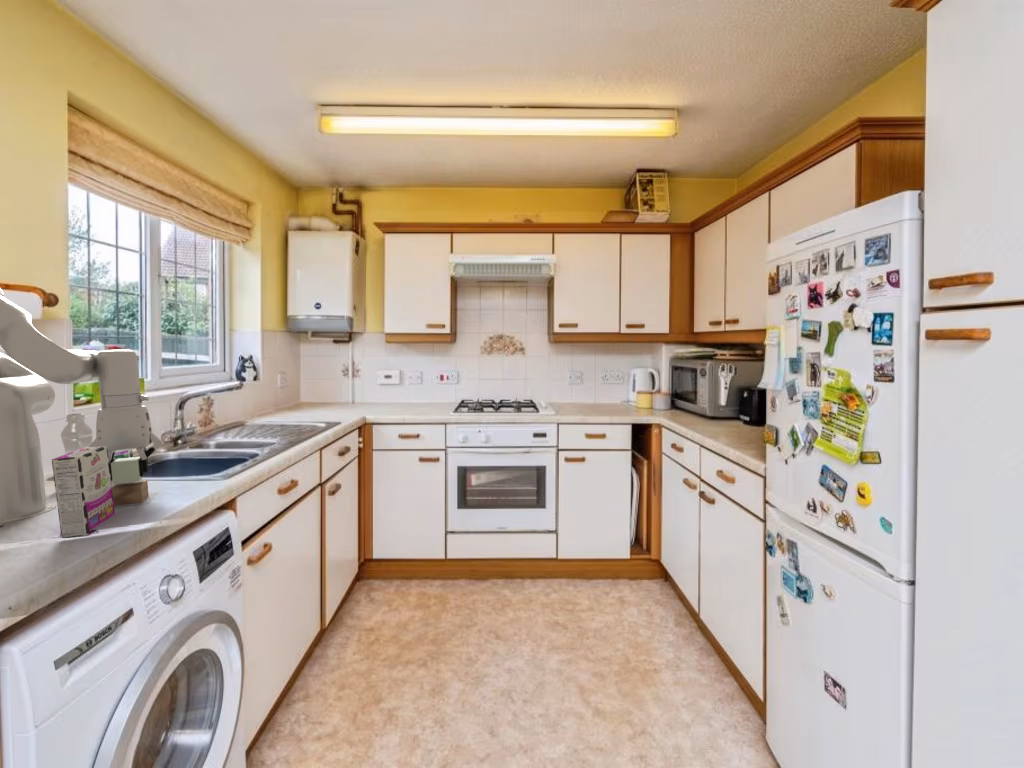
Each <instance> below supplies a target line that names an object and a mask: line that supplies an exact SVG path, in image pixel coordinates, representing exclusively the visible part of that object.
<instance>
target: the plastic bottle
mask: <svg viewBox="0 0 1024 768" xmlns="http://www.w3.org/2000/svg"><path fill="white" fill-rule="evenodd" d="M65 416H66V425H65V427H63V429H62V431H61V434H60V437H61V441H62V443H63V447H64V453H65V454H68V453H70V452H73V451H75V450H78V449H81V448H85V447H89V446H90V445H91V444H92V443H93V435H94V433H93V430H92V428H91V427H90V426H89V425H88V424H87V423H85V421H86V418H85V417H86V416H85V413H84V412H83V413H81V412H80V413H79V412H78V413H70V414H66V415H65Z"/></svg>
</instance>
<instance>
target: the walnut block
mask: <svg viewBox="0 0 1024 768" xmlns="http://www.w3.org/2000/svg"><path fill="white" fill-rule="evenodd" d="M148 483H149V482H148V479H141V480H140V481H136V482H128V483H120V484H115V485H114V486H113V487H112V494H113V502H114V506H117V505H125V504H133V503H140V502H143V501H144V500H145V499H146V498H147V497H148V495H149V494H148V493H149V485H148Z"/></svg>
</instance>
